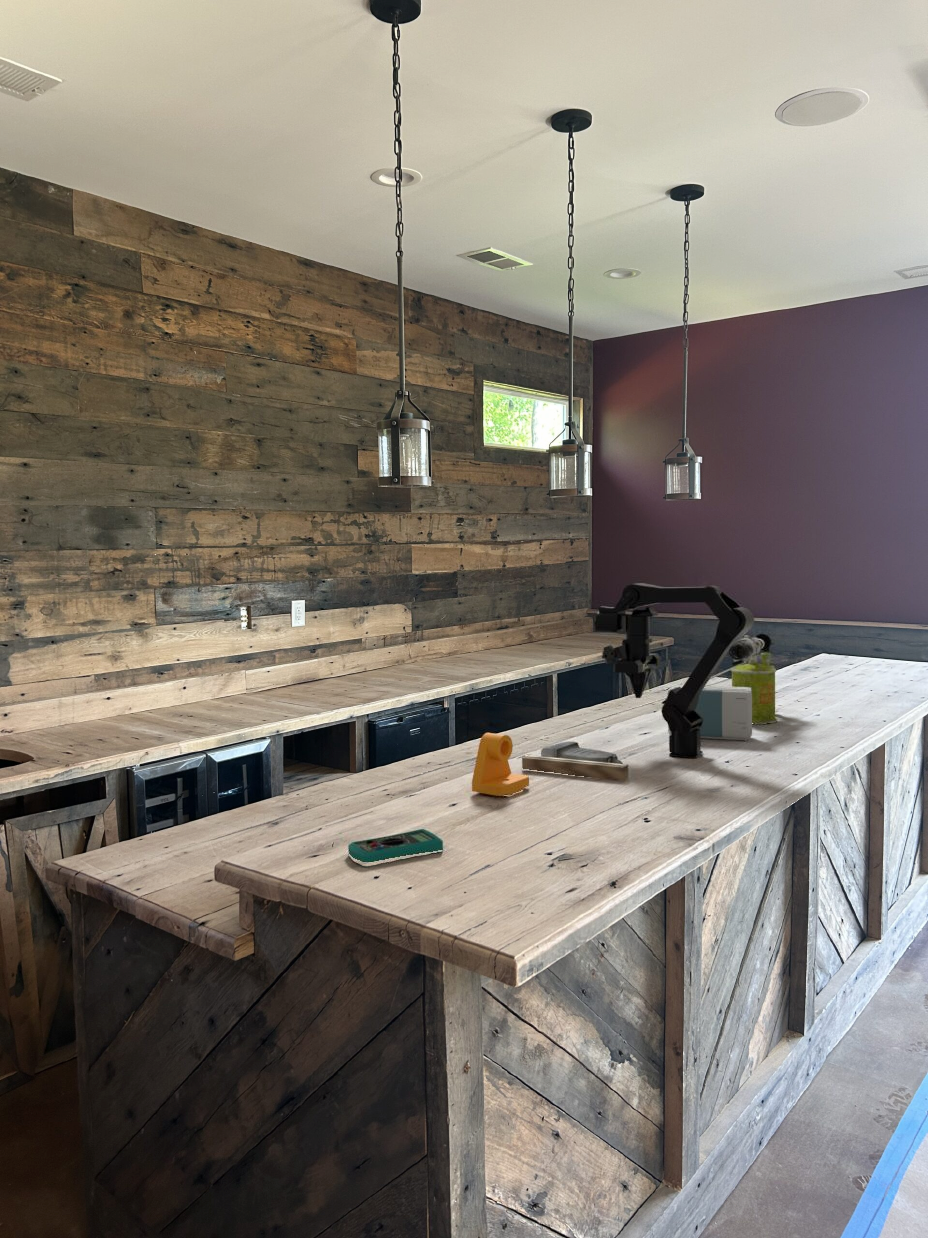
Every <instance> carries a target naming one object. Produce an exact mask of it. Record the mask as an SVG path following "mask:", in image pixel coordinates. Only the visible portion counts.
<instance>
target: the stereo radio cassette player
mask: <svg viewBox="0 0 928 1238" xmlns="http://www.w3.org/2000/svg"><path fill="white" fill-rule="evenodd" d="M744 664H747V661H744V662H743V663H741V664H739V665H744ZM739 665H737V666H739ZM737 666H732V667H730V668H727V669H725V670H723V671H722V672H721V671H720V672H719V673H717V674H715V675H714V674H713V675H712V676H711V678H710V679H709V681H710V680H712V679H714V678H717V677H718V676H721V675H723V674H724V673H727V672H729V671H731V669H733V668H735V667H737ZM683 686H684V684H680V685H679V684H674V685H672V686H671V687H670V688H668V690H667V695H668V694H669V692H670V690H672V689H674V688H677V687H681V688H682V687H683ZM695 711H696V712H697V713H698V714H699V715H700V716H701V717H702V718H703V723H702V726H701V727H700V728H697V729H700V736H701V739H710V738H711V739H714V740H733V741H735V740H736V741H744V740H745V741H744V742H746V741H749V739H751V738H752V736H753V725H752V691H751V688H750V687H732V686H724V685H723V686H722V685H721V686H720V685H705V687H704V688H703V690H702V691H701V693H700V695H699V699H698V704H697V706H696V708H695ZM667 732H668V734H669V735H671V731H670V729H669V726H668V725H667Z"/></svg>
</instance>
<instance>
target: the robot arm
mask: <svg viewBox="0 0 928 1238" xmlns="http://www.w3.org/2000/svg"><path fill="white" fill-rule="evenodd" d="M661 603H664V604H665V603H667V604H669V603H671V604H672V603H691V604H692V603H705V604H706V605H707V606H708V607H709V609H710V610H711V612H712V613H713V616H715V617H716V618H717V619H718V621H719V622H718V624H717V627H716V630H715V635H714V638H713V640H712V642H711V643H710V644H709V646H708V648H707V649H706V651H705V652H704V653H703V655H702V657H701V658H700V660H699V661H698V663H697V664H696V666H695V667H694V669H693V670H692V672H691V673H690V675H689V676H688V678H687V680H686V681H685V683H684V684H683V685H684V686H683V687H682V688H681V687H677V688H674V689H672V690H670V692H669V694H668V693H667V696H666V698H665V699H664V700H663V701H661V704H662V707H661V711H660V712H661V715H662V719H663V720H664V721H665V722H666V723H667V727H668V726H669V729H670V731H671V735H670V734H669V737H668V745H669V747H668V748H669V749H668V750H669V756H670V757H678V758H679V757H680V758H689V759H697V758H698V757H699V756H701V755H702V754H703V753H704V752H703V750H702V749H701V743H702V742H701V739H702V738H701V736H700V729H697V728H700V727H701V726H702V723H703V718H702V717H701V716H700V715H699V714H698V713H697V712H696V711H695V708H696V706H697V704H698V699H699V695H700V693H701V691H702V690H703V688H704V687H705V686H707V684H708V683H709V681H710V680H711V679H710V678H711V677H712V676H714V673H715V672H716V671H717V669H718V668H719V666H720V664H721V663H722V661H723V660H724V658H725V657H726V656H727V653H729V649H730V648H731V647H732V645H734V644H735V643H737V641H738V640H739V639H740V638H744V636H745V635H746V633H748V631H750V630H751V629H752V627H753V626H754V623H755V618H754V614H753V613H752V611H751V610H750V609H748V608H746V607H743V606H741V605H740V604H739V603H738V602H737V601H736V600H735V599H733V598H732V597H730V596H729V595H728V594H726V593H725V592H724V590H722V588H721V587H719V586H717V585H708V586H681V587H680V586H672V587H668V586H667V587H665V586H658V585H656V584H649V583H645V582H644V583H643V582H641V583H631V584H626V586H625V587H624V588H623V590H622V594H621V597H620V599H619V601H618V602H617V603H616V605H615V606H614V607H613V606H612V607H611V606H599V607H598V612H597V613H596V616H595V619H594V628H595V631H596V632H597V634H602V635H603V634H607V635H609V634H610V635H621V634H623V631H625V638H623V639H622V641H621V645H619V646H616V647H613V645H611V644H609V645H607V646H604V647H603V649H602V650H603V651H602V652H601V654H602V655H601V658H602V659H603V660H605V663H606V664H607V665H608V664H611V663H613V673H621V674H625V675H626V676H627V677H628V678H629V680H630V684H631V686H632V691H633V693H634V695H635V699H641V698H642V695H643V694H644V691H645V688H646V686H647V684H648V682H649V680H650V678H651V675H652V674H653V672H654V670H655V669H654V668H652V667H651V668H650V667H649V665H655V666H656V667H658V666H660V665H662V656H660V655H659V653H653V652H652V653H651V651H650V649H651V647H650V645H651V643H653V637H650V635H651V634H650V617H651V618H652V617H657V616H659V613H658V612H657V611H656V610H655V609H654V608H653V607H652V605H656V604H661ZM650 605H651V606H650ZM645 606H647V607H645ZM640 607H645V608H644V609H638V608H640ZM627 611H632V612H630V613H629V612H627ZM709 679H710V680H709Z"/></svg>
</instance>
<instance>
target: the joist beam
mask: <svg viewBox="0 0 928 1238" xmlns="http://www.w3.org/2000/svg"><path fill="white" fill-rule="evenodd" d="M521 763H522V764H521V769H522V768H523V769H529V770H537V771H544V772H554V773H561V774H568V775H575V776H574V777H577V776H584V777H583V778H587V777H591V778H590V779H596V778H599V780H606V779H607V781H608V780H609V781H614V782H616V781H617V782H625V781H627V780H628V779H629V764H626V763H623V764H617V763H606V762H596V761H585V760H575V759H564V758H554V757H543V756H541V755H530V754H525V755H524V756H522V758H521Z"/></svg>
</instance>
